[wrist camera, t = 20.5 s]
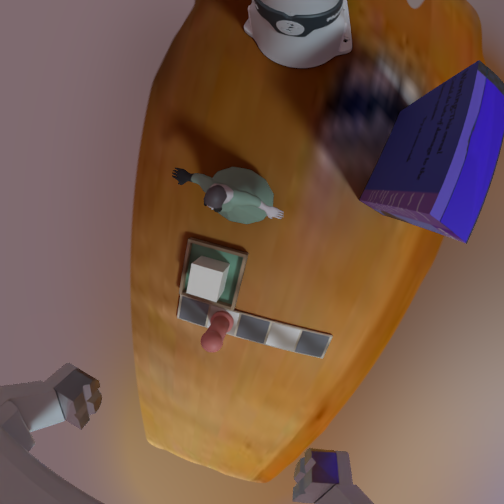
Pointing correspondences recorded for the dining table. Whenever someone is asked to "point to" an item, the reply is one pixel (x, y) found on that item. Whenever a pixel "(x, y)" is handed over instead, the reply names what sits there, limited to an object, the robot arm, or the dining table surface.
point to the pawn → (217, 331)
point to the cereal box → (442, 155)
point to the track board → (257, 328)
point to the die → (207, 278)
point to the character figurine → (235, 194)
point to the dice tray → (222, 254)
